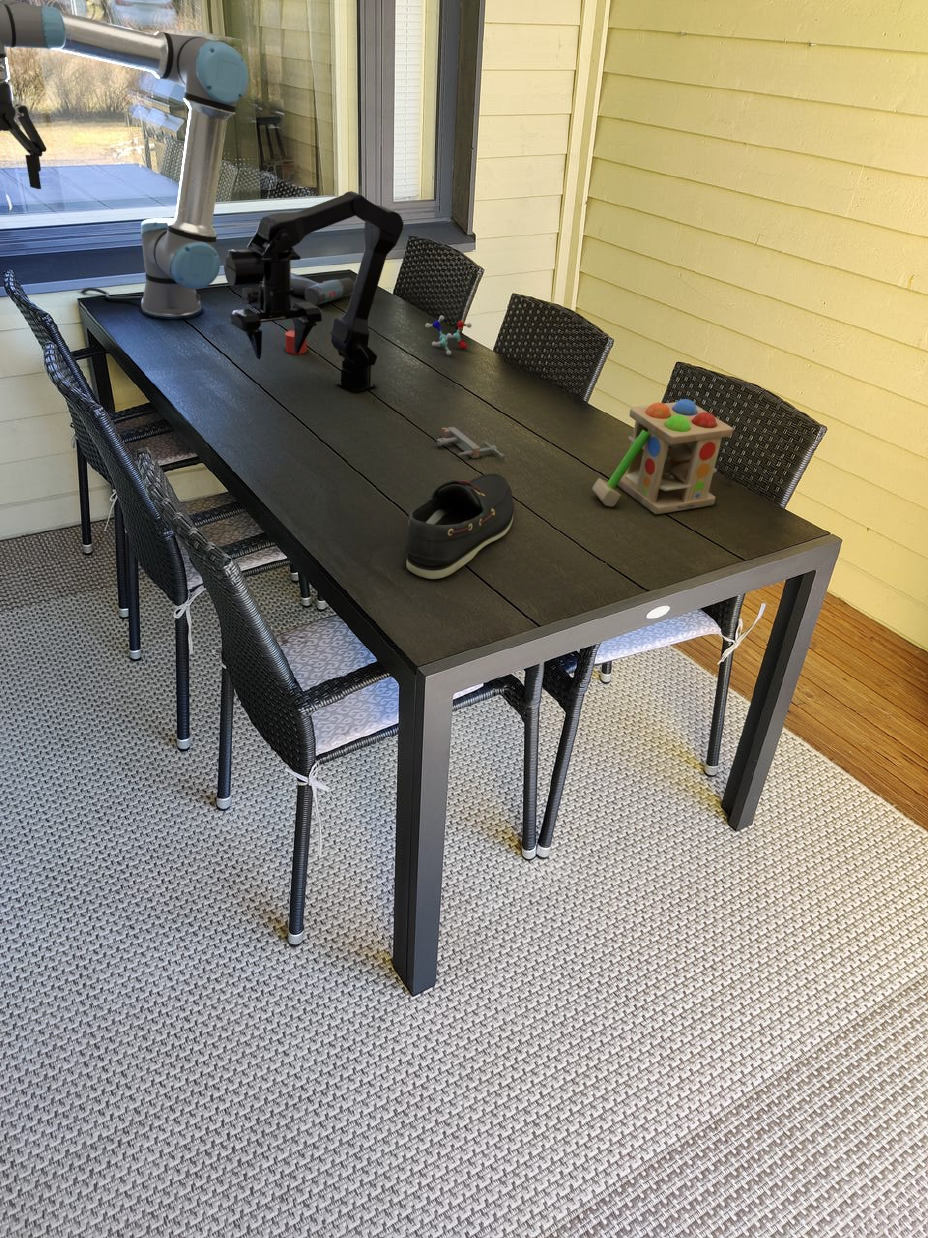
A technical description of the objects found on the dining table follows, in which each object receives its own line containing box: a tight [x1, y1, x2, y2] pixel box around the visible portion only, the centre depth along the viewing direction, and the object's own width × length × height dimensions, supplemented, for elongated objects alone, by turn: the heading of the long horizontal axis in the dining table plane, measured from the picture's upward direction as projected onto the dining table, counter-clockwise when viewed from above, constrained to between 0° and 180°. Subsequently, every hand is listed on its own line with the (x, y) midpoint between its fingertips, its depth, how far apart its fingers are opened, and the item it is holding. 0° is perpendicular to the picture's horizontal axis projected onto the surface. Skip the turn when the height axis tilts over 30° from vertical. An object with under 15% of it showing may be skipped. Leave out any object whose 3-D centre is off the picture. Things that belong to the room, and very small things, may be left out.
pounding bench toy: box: [591, 398, 734, 515], centre depth 186 cm, size 23×14×18 cm, turn 116°
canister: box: [284, 329, 307, 355], centre depth 241 cm, size 5×5×4 cm
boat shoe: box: [403, 472, 515, 580], centre depth 170 cm, size 13×33×10 cm, turn 147°
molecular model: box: [424, 315, 472, 356], centre depth 250 cm, size 12×10×10 cm
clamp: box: [436, 426, 507, 460], centre depth 201 cm, size 15×2×10 cm
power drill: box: [291, 272, 355, 306], centre depth 280 cm, size 5×19×20 cm
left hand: (9, 191), depth 211 cm, fingers open, 13 cm apart
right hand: (277, 355), depth 211 cm, fingers open, 9 cm apart
